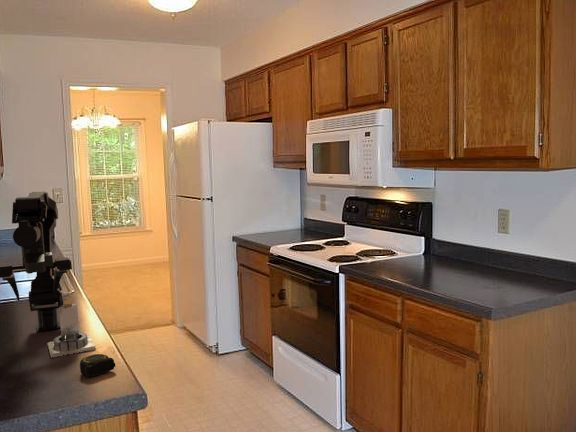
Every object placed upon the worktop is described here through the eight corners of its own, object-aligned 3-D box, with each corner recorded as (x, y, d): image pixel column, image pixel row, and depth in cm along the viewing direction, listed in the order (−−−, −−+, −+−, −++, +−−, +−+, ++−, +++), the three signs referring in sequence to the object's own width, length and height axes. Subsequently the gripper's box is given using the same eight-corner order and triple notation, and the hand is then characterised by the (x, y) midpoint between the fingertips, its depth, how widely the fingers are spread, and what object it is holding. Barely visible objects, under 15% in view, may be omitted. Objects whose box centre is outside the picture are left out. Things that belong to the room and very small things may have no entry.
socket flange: (47, 345, 151) (46, 336, 150) (89, 338, 156) (88, 328, 155) (51, 357, 141) (50, 347, 141) (95, 349, 146) (94, 339, 146)
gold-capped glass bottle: (61, 343, 149) (57, 298, 148) (78, 340, 151) (75, 296, 150) (62, 347, 145) (59, 302, 144) (80, 344, 147) (77, 299, 146)
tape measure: (88, 381, 125) (87, 365, 125) (75, 374, 130) (74, 358, 129) (116, 372, 130) (115, 357, 129) (102, 365, 135) (101, 351, 134)
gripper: (-7, 249, 139) (-1, 309, 140) (72, 242, 147) (76, 298, 149) (-6, 244, 149) (-1, 300, 150) (67, 237, 157) (71, 291, 159)
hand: (37, 297), depth 152 cm, fingers open, 9 cm apart
